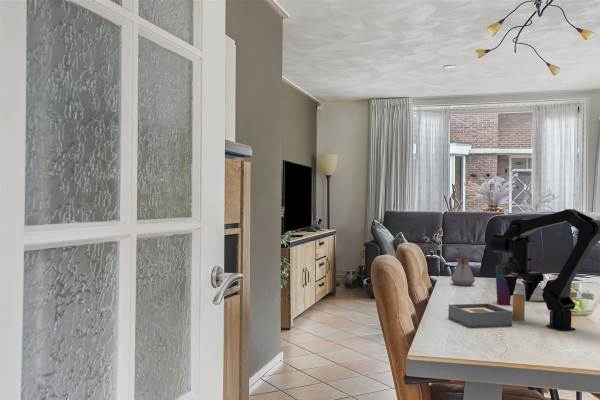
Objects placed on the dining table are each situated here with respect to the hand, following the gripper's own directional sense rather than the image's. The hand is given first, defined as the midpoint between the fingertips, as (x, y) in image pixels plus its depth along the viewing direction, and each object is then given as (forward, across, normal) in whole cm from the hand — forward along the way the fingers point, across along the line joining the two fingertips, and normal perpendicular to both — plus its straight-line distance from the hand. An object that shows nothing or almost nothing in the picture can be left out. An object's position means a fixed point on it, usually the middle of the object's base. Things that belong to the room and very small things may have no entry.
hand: (519, 297), depth 190 cm
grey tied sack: (+8, -70, +19) cm, 73 cm away
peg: (+8, 0, 0) cm, 8 cm away
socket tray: (+8, +2, -17) cm, 19 cm away
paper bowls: (+8, -34, +32) cm, 47 cm away
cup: (+8, -26, +12) cm, 30 cm away
